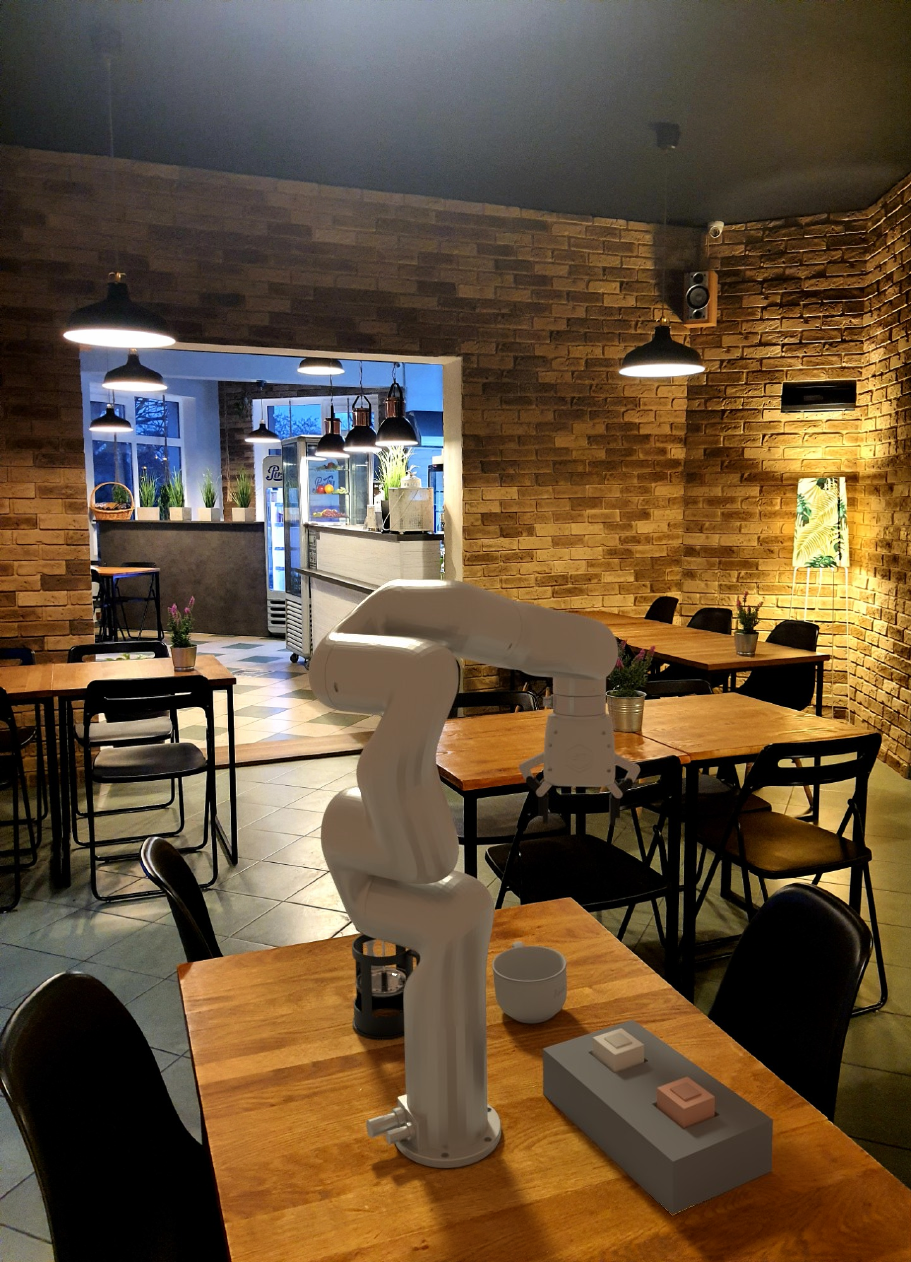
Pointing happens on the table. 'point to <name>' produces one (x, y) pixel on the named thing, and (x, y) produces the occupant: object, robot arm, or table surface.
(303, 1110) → the table surface
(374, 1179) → the table surface
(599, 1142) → the key console
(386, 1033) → the french press
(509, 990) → the teacup
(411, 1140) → the robot arm
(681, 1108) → the key terracotta
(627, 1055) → the key ivory
